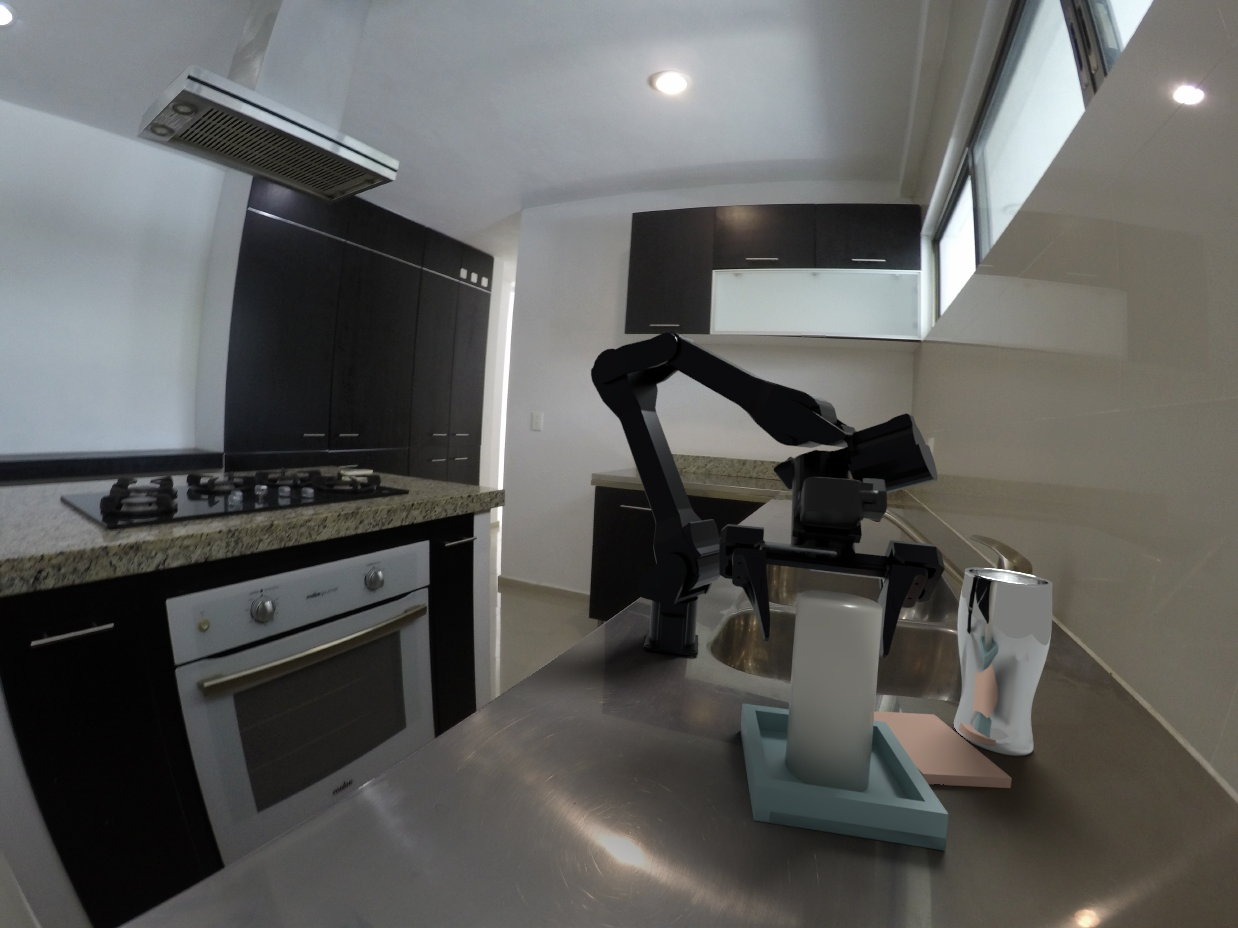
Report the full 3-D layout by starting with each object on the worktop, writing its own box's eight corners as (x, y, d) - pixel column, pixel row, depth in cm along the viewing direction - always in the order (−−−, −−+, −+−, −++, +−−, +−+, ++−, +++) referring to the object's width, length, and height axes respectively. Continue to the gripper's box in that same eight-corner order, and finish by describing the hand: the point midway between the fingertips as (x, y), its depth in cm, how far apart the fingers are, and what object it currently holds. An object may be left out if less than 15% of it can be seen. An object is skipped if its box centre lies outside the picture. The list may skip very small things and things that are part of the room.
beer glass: (997, 762, 46) (1014, 585, 46) (930, 721, 53) (944, 566, 53) (1059, 755, 48) (1076, 585, 48) (987, 716, 55) (1001, 566, 54)
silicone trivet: (861, 718, 53) (862, 710, 53) (933, 722, 53) (934, 714, 53) (922, 783, 43) (923, 773, 43) (1010, 787, 43) (1011, 777, 43)
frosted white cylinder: (779, 743, 46) (791, 587, 45) (856, 753, 45) (868, 594, 44) (792, 787, 40) (805, 608, 39) (880, 799, 39) (894, 617, 38)
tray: (740, 729, 49) (742, 703, 49) (883, 749, 47) (885, 721, 47) (753, 819, 37) (756, 785, 37) (945, 850, 35) (948, 813, 35)
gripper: (728, 439, 52) (708, 580, 42) (947, 452, 48) (985, 615, 38) (727, 512, 60) (710, 646, 50) (915, 530, 56) (939, 682, 46)
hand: (824, 647), depth 46 cm, fingers open, 9 cm apart
